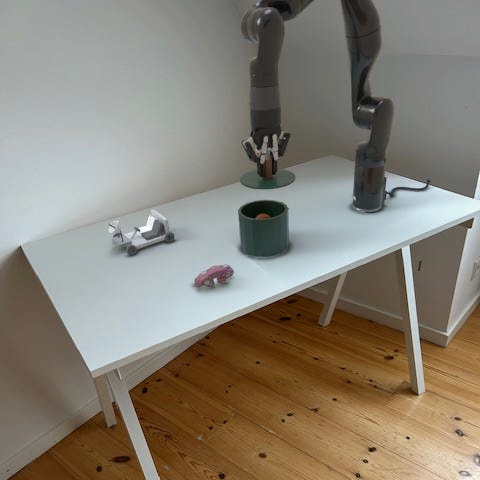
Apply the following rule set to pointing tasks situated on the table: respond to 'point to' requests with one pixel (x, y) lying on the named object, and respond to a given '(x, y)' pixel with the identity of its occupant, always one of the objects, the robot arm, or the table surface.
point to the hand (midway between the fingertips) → (267, 175)
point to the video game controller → (214, 275)
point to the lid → (268, 178)
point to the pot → (264, 228)
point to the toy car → (142, 233)
